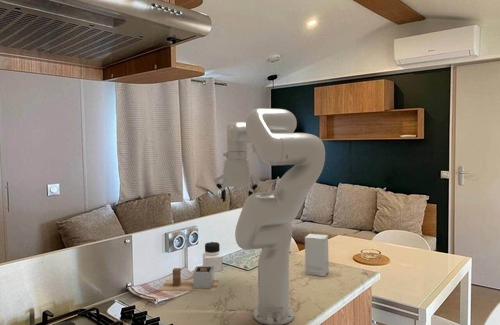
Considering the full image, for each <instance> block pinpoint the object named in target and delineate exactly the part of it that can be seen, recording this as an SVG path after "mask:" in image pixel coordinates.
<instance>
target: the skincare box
mask: <svg viewBox="0 0 500 325" xmlns="http://www.w3.org/2000/svg"><path fill="white" fill-rule="evenodd" d="M304 254H305V257H304V260H305V262H304V263H305V264H304V265H305V275H310V276H317V277H318V276H319V277H326V276H327V274H328V273H329V272H330V271H329V269H330V267H329V236H328V235H327V234H319V233H318V234H317V233H308V234H307V235H306V236H305V237H304Z"/></svg>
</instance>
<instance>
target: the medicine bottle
mask: <svg viewBox="0 0 500 325" xmlns="http://www.w3.org/2000/svg"><path fill="white" fill-rule="evenodd" d="M220 246H221V245H220V243H219V242H217V241H208V242H206V243H204V252H203V253H202V266H214V272H215V273H216V272H222V271H223V255H222V254H221V252H220Z"/></svg>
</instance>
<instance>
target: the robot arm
mask: <svg viewBox="0 0 500 325" xmlns="http://www.w3.org/2000/svg"><path fill="white" fill-rule="evenodd" d="M297 123H298V122H297V118H296V115H294V113H293V112H291V111H289V110H287V109H285V108H284V109H283V108H264V107H261V108H260V107H259V108H254V109H252V110H251V111H250V112H249V113H248V114H247V115H246V119H245V121H235V122H229V123H228V124H227V126H226V152H222V156H223V157H225V158H226V159H224V162H223V171H222V174H221V175H220V176H217V177H215V178H214V179H213V181H214V184H215V185H216V187H217V189H219V190H220V199H221V200H222V203H225V202H226V198H227V194H226V191H227V190H226V188H247V189H248V197H246V199H245V201H244V203H243V206H242V208H241V210H240V211H241V212H240V214H239V216H238V220H237V221H236V222H237V223H236V226H235V232H234V234H235V235H234V236H235V243H236V244H237V246H238V247H240V249H241V250H244V251H254V250H259V249H260V250H261V252H260V254H259V257H258V261H257V296H258V297H257V298H258V299H257V306H256V308H254V309H253V312H252V314H253V315H252V316H253V318H254V320H256V321H257V322H258V323H261V324H264V325H285V324H288V323H290V322H291V321H293V320H294V319H295V318H294V317H295V312H294V310H293V309H292V308H290V300H289V299H290V293H289V292H290V290H289V289H290V286H289V285H290V249H291V242H292V237H293V225H292V222H293V221H295V219H296V218H297V216H298V214H299V212H300V210H301V209H302V206H303V204H304V203H305V201H306V199H307V196H308V194H309V192H310V191H311V189H312V188H313V186H314V184H315V183H316V182H317V181H318V179H319V178H320V175H321V174H322V172H323V170H324V166H325V161H326V148H325V144H324V142H323V140H322V139H321V138H320V137H318V136H316V135H314V134H311V133H307V132H306V133H305V132H295V130H296V129H297V126H298V125H297ZM248 144H252V146H253V147H254V150H255V151H256V153H257V154H258V157H259V159H260V160H261V161H262V162H263V163H264V164H265V165H267V166H288V165H290V166H292V165H293V166H292V167H291V168H289V169H288V170H287V171H286V172H285V173H284V174H283V175H282V177H281V178H280V179H279V181H278V184H277V186H276V188H275V189H273V190H270V191H260V192H254V190H256V189H257V188H258V185H259V184H260V182H261V179H260V178H258V177H256V176H254V175H252V174H251V164H250V160H249V159H248ZM220 180H222V184H223V185H222V184H221V183H220ZM251 181H254V182H255V183H254V184H253V185H251Z"/></svg>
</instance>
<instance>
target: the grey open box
mask: <svg viewBox="0 0 500 325" xmlns="http://www.w3.org/2000/svg"><path fill="white" fill-rule="evenodd" d="M201 268H207V272H200V269H201ZM192 275H193V276H192V280H193V289H212V286H213V283H214V280H215V278H214V277H215V276H214V275H215V274H214V266H203V265H202V266H200V265H197V266H195V268H194V269H193V272H192Z"/></svg>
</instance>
